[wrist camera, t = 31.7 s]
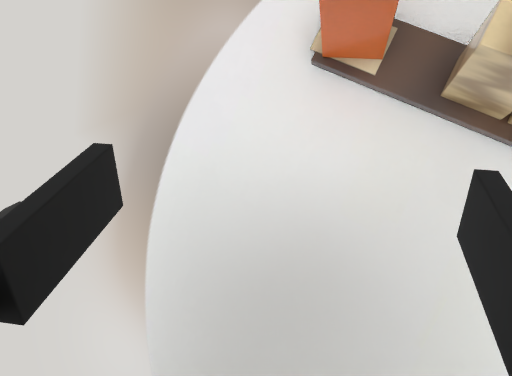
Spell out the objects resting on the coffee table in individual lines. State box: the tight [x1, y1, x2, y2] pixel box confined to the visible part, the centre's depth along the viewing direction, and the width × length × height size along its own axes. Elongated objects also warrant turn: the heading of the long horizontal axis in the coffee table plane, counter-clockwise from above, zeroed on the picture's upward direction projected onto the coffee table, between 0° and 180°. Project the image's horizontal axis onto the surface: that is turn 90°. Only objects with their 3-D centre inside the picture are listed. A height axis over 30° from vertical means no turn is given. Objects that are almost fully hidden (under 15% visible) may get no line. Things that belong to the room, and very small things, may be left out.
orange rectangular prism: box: [319, 0, 399, 59], centre depth 33 cm, size 5×4×10 cm
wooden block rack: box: [310, 0, 512, 146], centre depth 32 cm, size 22×6×11 cm, turn 63°
